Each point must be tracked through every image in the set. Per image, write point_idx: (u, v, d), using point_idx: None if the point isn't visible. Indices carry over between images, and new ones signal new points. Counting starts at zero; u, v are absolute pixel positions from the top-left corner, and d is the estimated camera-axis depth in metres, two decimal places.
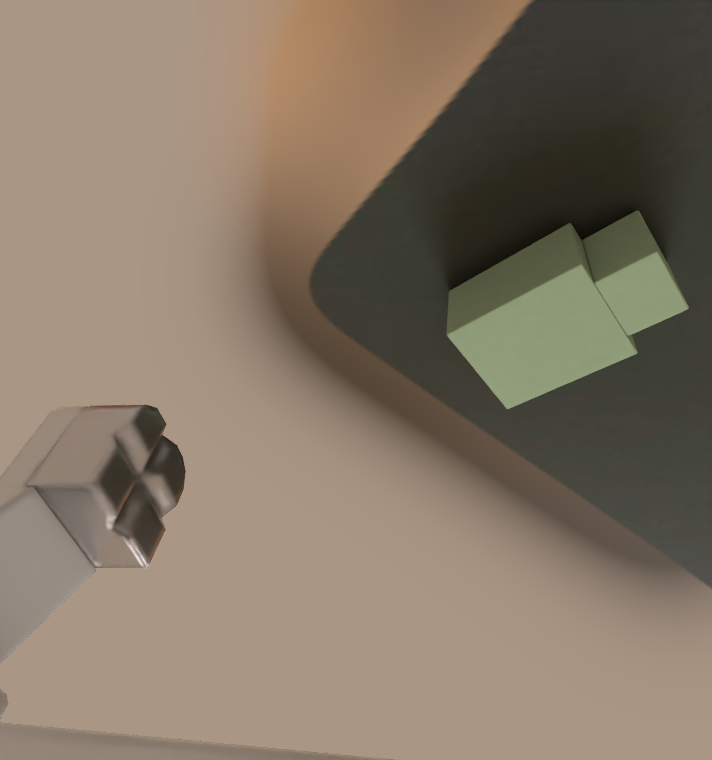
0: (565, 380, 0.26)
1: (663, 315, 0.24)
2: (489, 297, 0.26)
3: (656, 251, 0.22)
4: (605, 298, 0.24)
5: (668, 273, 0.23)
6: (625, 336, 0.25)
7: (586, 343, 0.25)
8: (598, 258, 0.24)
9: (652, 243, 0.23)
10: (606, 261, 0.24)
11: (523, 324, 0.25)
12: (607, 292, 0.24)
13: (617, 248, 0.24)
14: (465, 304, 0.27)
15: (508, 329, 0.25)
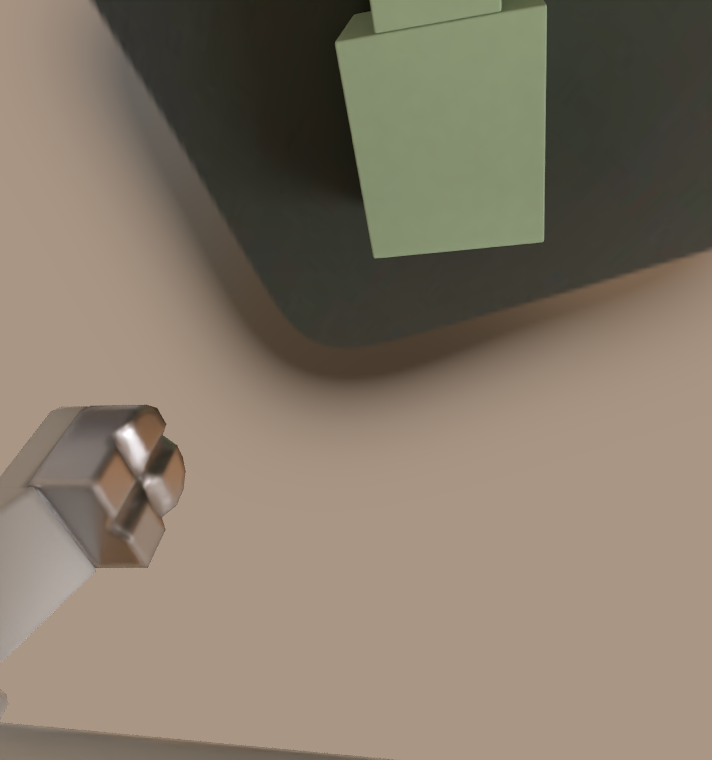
0: (536, 140, 0.16)
1: None
2: None
3: None
4: (409, 25, 0.15)
5: None
6: (500, 15, 0.14)
7: (479, 83, 0.15)
8: None
9: None
10: None
11: (402, 160, 0.17)
12: (400, 18, 0.15)
13: None
14: None
15: (401, 182, 0.17)
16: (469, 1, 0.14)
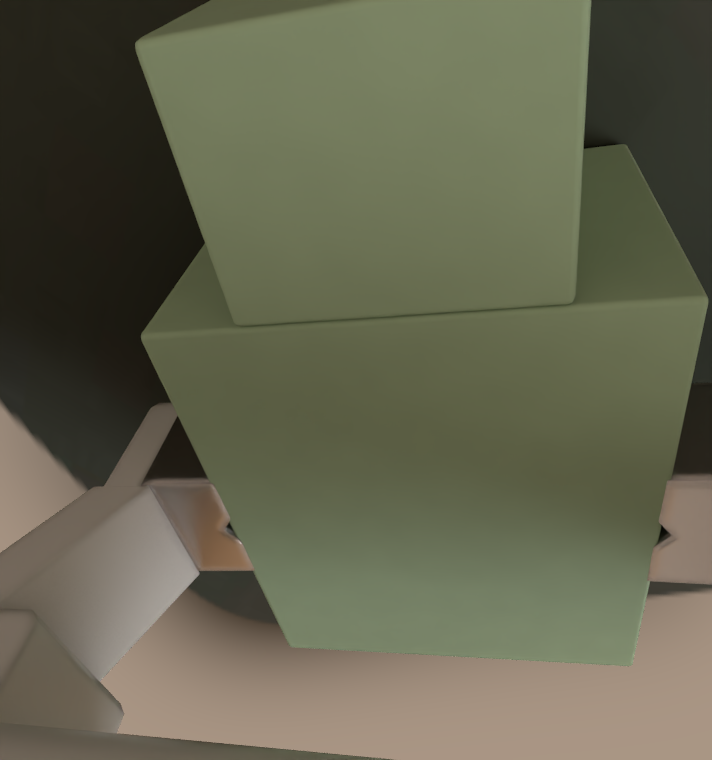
0: (639, 537, 0.07)
1: (548, 119, 0.04)
2: None
3: (135, 46, 0.04)
4: (323, 317, 0.05)
5: (286, 19, 0.04)
6: (570, 312, 0.05)
7: (508, 437, 0.06)
8: None
9: None
10: None
11: (328, 535, 0.08)
12: (296, 302, 0.05)
13: None
14: None
15: (331, 564, 0.08)
16: (484, 279, 0.05)
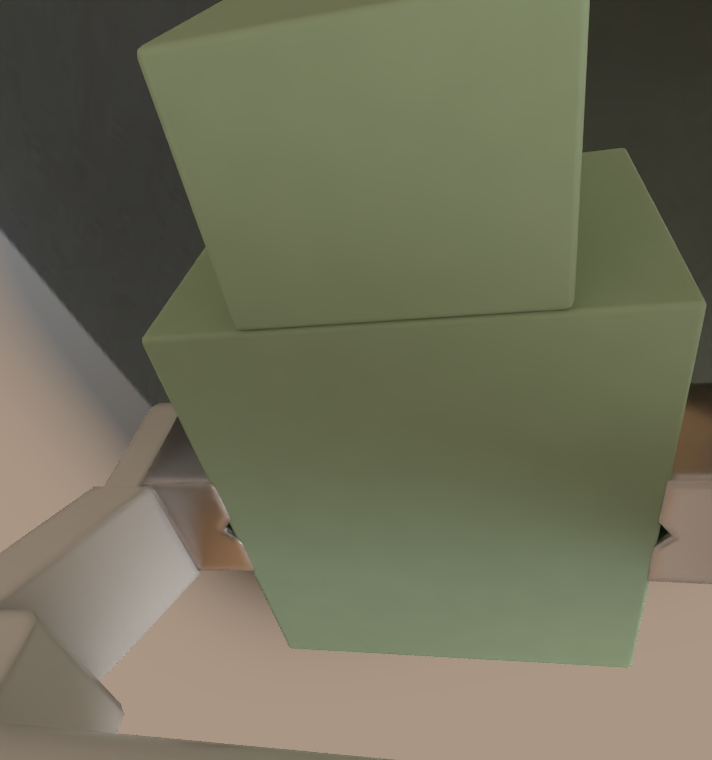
0: (638, 539, 0.07)
1: (547, 126, 0.04)
2: None
3: (137, 54, 0.04)
4: (323, 321, 0.05)
5: (287, 27, 0.04)
6: (568, 316, 0.05)
7: (507, 439, 0.06)
8: None
9: None
10: None
11: (329, 537, 0.08)
12: (295, 307, 0.05)
13: None
14: None
15: (330, 566, 0.08)
16: (483, 284, 0.05)
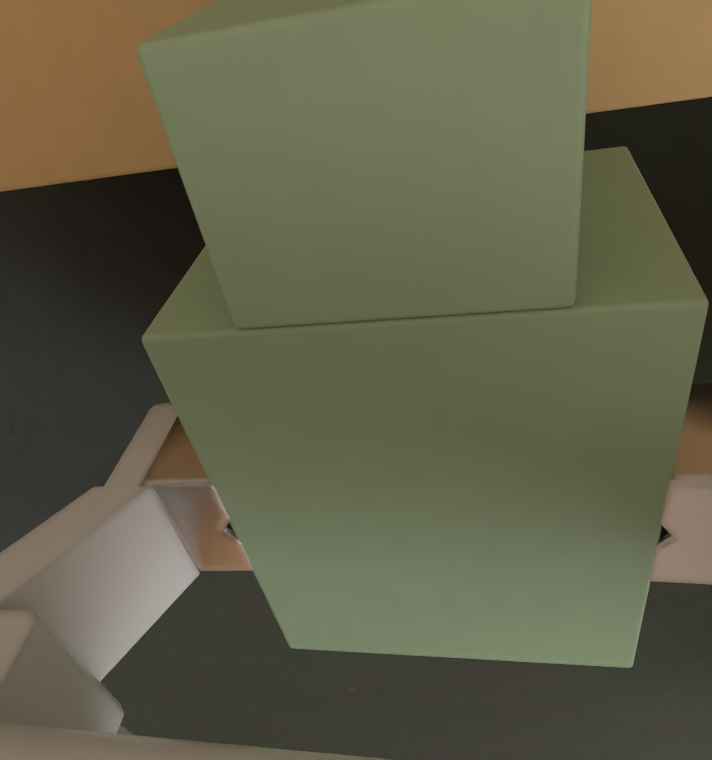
0: (639, 539, 0.07)
1: (549, 123, 0.04)
2: None
3: (137, 50, 0.04)
4: (323, 320, 0.05)
5: (287, 23, 0.04)
6: (570, 315, 0.05)
7: (508, 439, 0.06)
8: None
9: None
10: None
11: (329, 536, 0.08)
12: (296, 304, 0.05)
13: None
14: None
15: (331, 566, 0.08)
16: (484, 282, 0.05)
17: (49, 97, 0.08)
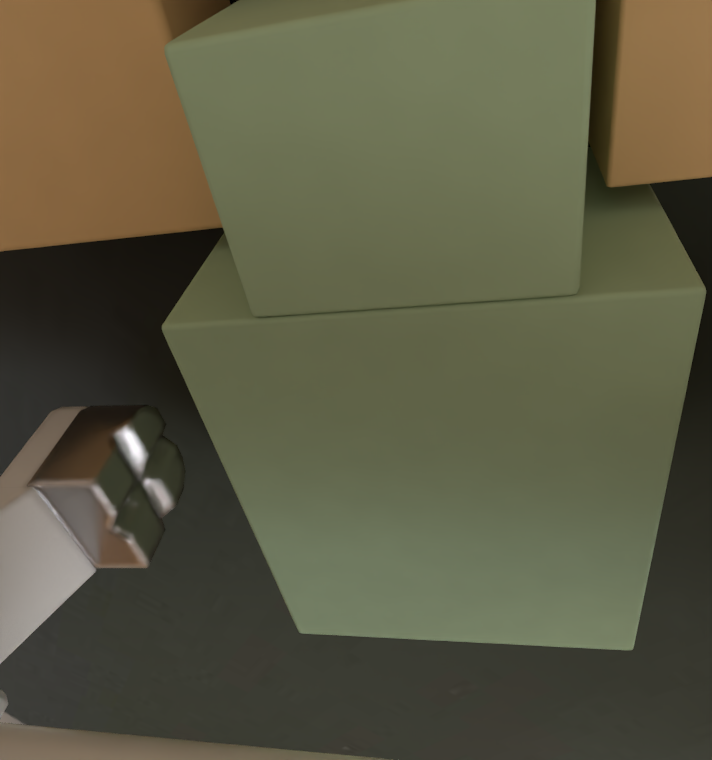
0: (640, 521, 0.07)
1: (554, 119, 0.04)
2: None
3: (165, 50, 0.04)
4: (338, 308, 0.06)
5: (308, 24, 0.04)
6: (574, 302, 0.05)
7: (513, 424, 0.06)
8: None
9: None
10: None
11: (340, 521, 0.08)
12: (312, 294, 0.06)
13: None
14: None
15: (341, 551, 0.08)
16: (493, 271, 0.05)
17: None
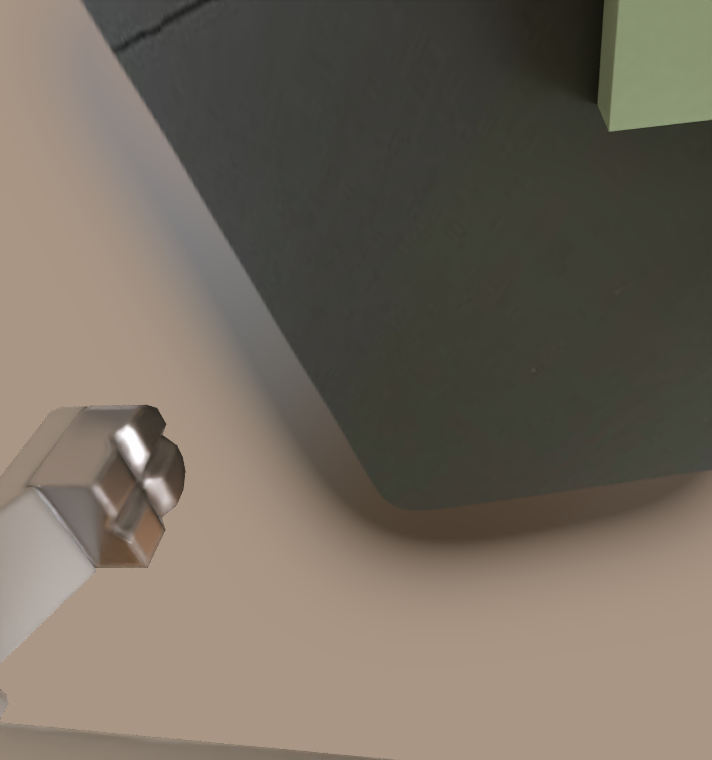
0: None
1: None
2: (608, 67, 0.24)
3: None
4: None
5: None
6: None
7: None
8: None
9: None
10: None
11: (651, 46, 0.22)
12: None
13: None
14: (604, 96, 0.25)
15: (646, 65, 0.23)
16: None
17: None
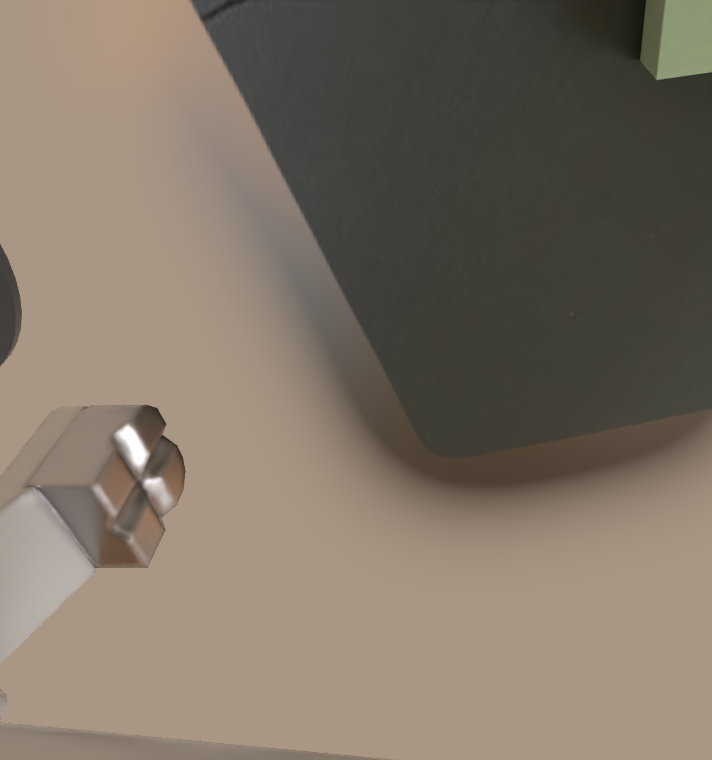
0: None
1: None
2: (656, 23, 0.27)
3: None
4: None
5: None
6: None
7: None
8: None
9: None
10: None
11: (696, 2, 0.26)
12: None
13: None
14: (650, 49, 0.29)
15: (691, 18, 0.26)
16: None
17: None
